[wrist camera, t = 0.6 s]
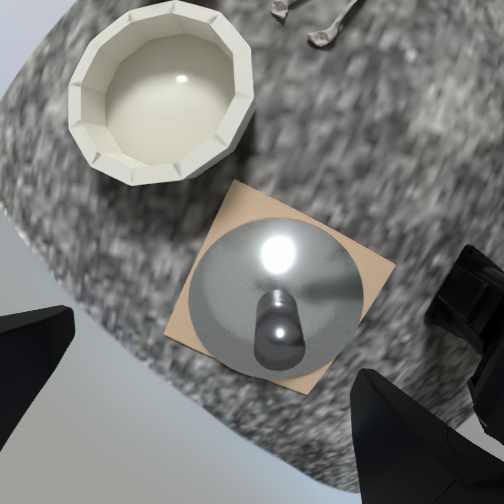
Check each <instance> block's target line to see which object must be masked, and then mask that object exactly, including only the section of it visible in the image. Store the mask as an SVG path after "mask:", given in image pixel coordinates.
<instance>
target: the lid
mask: <svg viewBox="0 0 504 504" xmlns="http://www.w3.org/2000/svg"><path fill="white" fill-rule="evenodd" d="M363 304H364V291H363V284H362V279H361V276H360V273H359V270H358V268H357V266H356V264H355V261H354V260H353V258H352V257H351V255H350V254H349V252H348V251H347V250H346V249H345V248H344V247H343V246H342V244H341V243H340V242H339V241H338V240H337V239H335V238H334V237H333V236H332V235H331V234H329V233H328V232H326V231H325V230H323V229H321V228H320V227H318V226H316V225H313V224H311V223H309V222H306V221H302V220H299V219H293V218H287V217H269V218H260V219H256V220H252V221H249V222H246V223H244V224H241V225H239V226H236V227H235V228H233V229H231V230H229V231H228V232H226V233H225V234H223V235H222V236H221V237H220V238H218V239H217V240H216V241H215V242H214V243H213V244H212V245H211V246H210V247H209V248H208V250H207V251H206V252H205V254H204V255H203V256H202V258H201V259H200V261H199V263H198V265H197V267H196V268H195V271H194V273H193V276H192V279H191V283H190V287H189V296H188V305H189V313H190V318H191V322H192V325H193V327H194V330H195V332H196V334H197V336H198V337H199V339H200V341H201V342H202V344H203V345H204V346H205V348H206V349H207V350H208V351H209V352H210V353H211V354H212V355H213V356H214V357H215V358H216V359H218V360H219V361H220V362H222V363H223V364H225V365H226V366H228V367H229V368H231V369H233V370H236V371H238V372H240V373H243V374H246V375H249V376H253V377H258V378H265V379H284V378H291V377H296V376H300V375H303V374H306V373H309V372H312V371H314V370H316V369H318V368H320V367H322V366H323V365H325V364H327V363H328V362H329V361H331V360H332V359H333V358H335V357H336V356H337V355H338V354H339V353H340V352H341V351H342V350H343V349H344V348H345V347H346V345H347V344H348V343H349V342H350V340H351V338H352V337H353V335H354V333H355V332H356V329H357V327H358V325H359V322H360V319H361V315H362V311H363Z"/></svg>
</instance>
